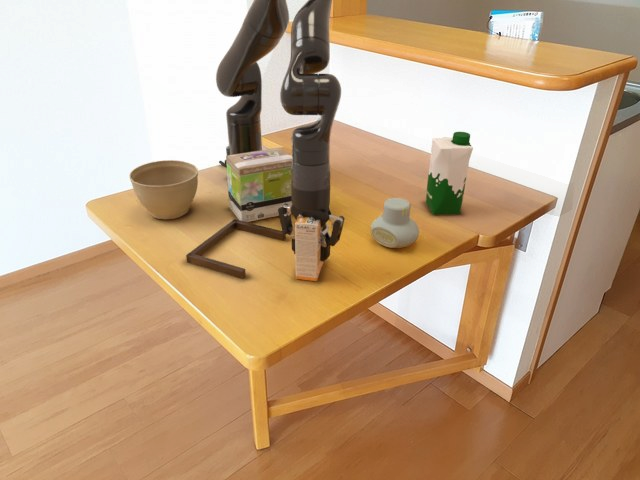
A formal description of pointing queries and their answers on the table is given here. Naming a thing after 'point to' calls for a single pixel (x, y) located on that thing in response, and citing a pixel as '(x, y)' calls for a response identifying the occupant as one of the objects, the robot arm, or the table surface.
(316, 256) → the supplement box
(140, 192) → the planter bowl
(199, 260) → the bay
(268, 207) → the tea box
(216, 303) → the table surface
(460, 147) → the milk carton
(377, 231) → the air freshener
